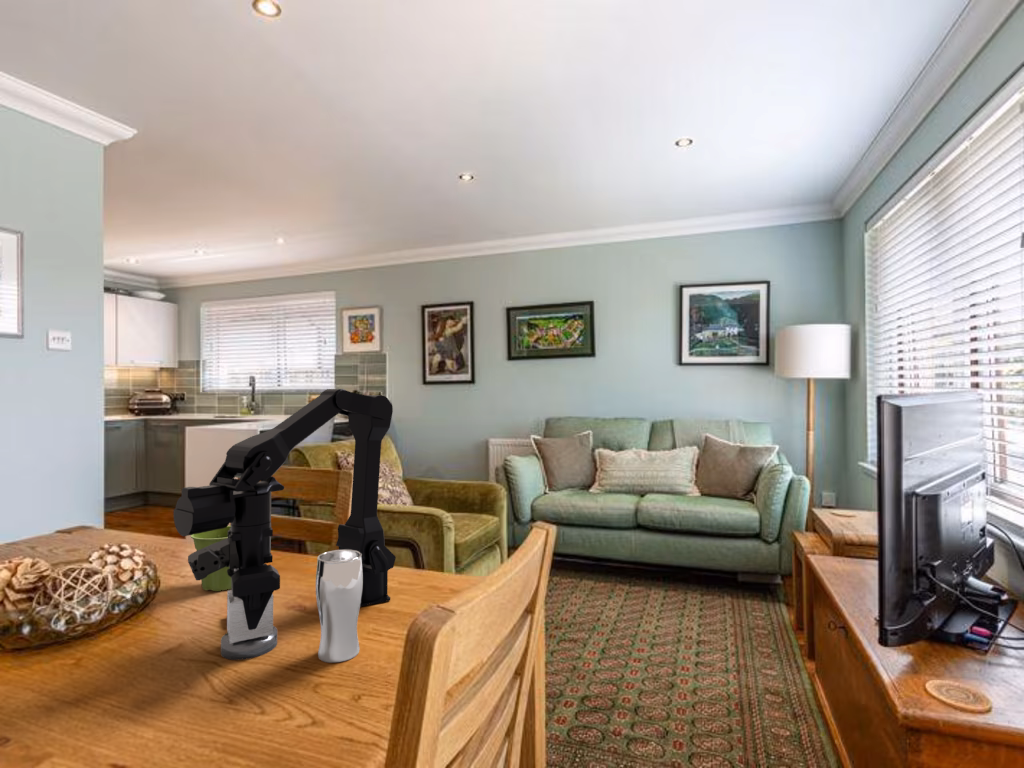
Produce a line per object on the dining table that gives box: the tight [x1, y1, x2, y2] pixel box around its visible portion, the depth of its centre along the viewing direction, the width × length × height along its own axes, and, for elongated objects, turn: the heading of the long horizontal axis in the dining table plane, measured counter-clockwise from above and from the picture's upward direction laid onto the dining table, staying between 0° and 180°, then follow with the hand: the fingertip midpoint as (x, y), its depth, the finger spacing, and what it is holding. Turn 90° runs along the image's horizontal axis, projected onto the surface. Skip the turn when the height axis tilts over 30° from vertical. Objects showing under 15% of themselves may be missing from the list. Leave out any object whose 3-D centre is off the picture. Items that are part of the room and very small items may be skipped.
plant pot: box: [189, 525, 231, 592], centre depth 112 cm, size 12×12×11 cm
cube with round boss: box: [226, 589, 274, 643], centre depth 85 cm, size 6×6×8 cm
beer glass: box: [315, 549, 363, 664], centre depth 83 cm, size 7×7×15 cm
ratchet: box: [220, 625, 278, 661], centre depth 89 cm, size 18×8×6 cm, turn 31°
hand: (250, 621), depth 85 cm, fingers closed on cube with round boss, 6 cm apart
